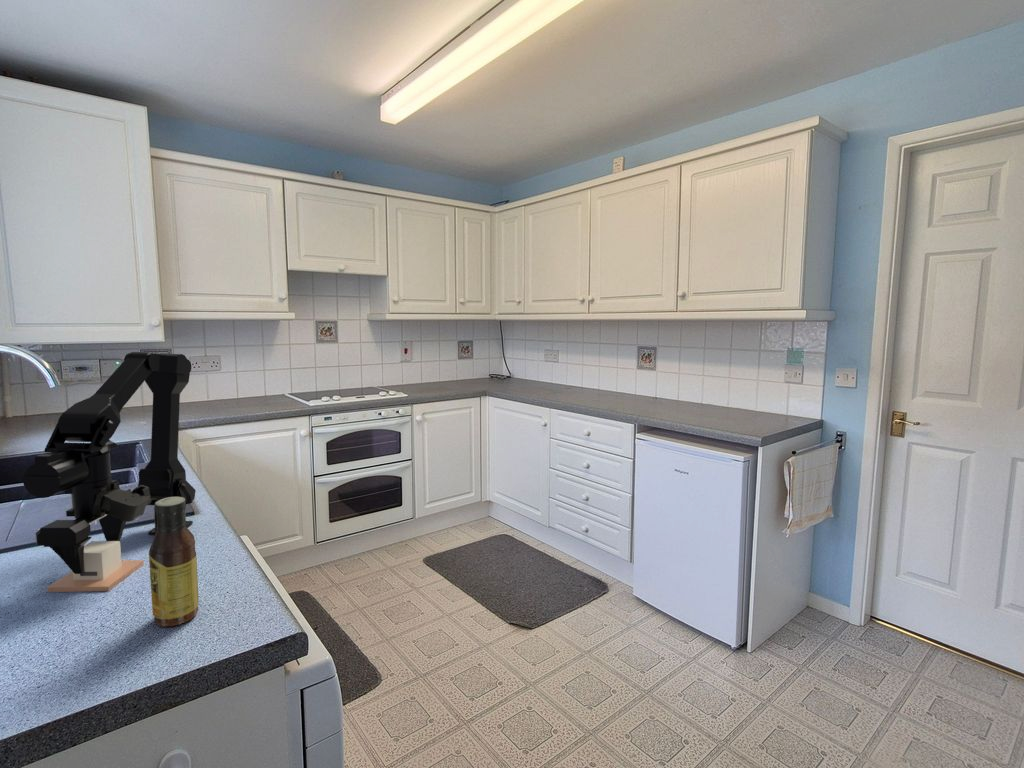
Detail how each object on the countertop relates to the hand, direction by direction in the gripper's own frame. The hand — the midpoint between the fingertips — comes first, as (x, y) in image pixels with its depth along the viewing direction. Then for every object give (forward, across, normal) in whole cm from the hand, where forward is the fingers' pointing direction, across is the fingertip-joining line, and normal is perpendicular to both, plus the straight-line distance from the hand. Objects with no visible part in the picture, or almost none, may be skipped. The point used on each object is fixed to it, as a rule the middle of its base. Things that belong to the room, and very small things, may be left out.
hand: (97, 561), depth 95 cm
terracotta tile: (+3, 0, 0) cm, 3 cm away
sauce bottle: (+3, -14, -21) cm, 25 cm away
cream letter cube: (+2, 0, 0) cm, 2 cm away
